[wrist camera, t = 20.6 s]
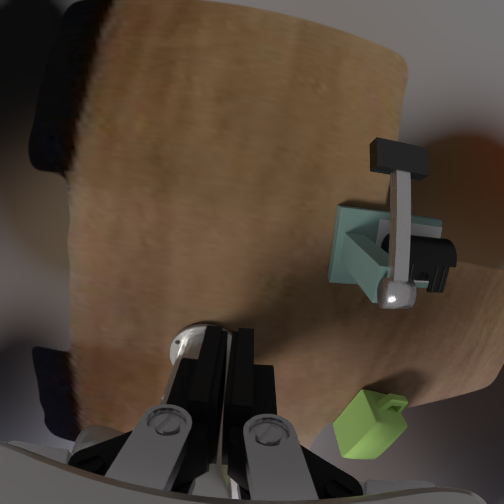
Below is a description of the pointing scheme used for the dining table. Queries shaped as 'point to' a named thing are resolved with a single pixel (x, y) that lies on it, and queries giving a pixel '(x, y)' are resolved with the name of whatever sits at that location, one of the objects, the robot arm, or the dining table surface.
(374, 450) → the gearbox
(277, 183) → the dining table surface
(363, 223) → the press frame
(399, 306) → the press lever
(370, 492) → the robot arm
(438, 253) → the end cap
